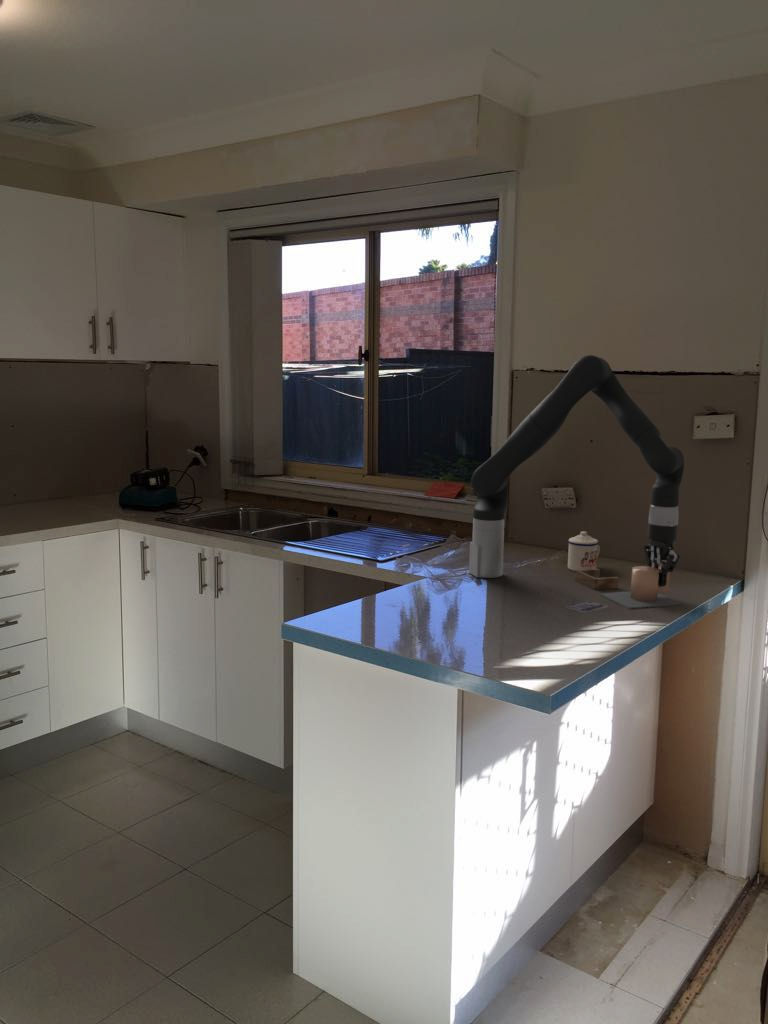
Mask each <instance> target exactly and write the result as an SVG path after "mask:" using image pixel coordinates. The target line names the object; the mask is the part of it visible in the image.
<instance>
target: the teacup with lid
mask: <svg viewBox="0 0 768 1024" xmlns="http://www.w3.org/2000/svg"><path fill="white" fill-rule="evenodd" d="M567 543H568V553H567V554H568V555H567V568H568V569H569V570H571V571H573V572H575V570H585V569H597V560H598V557H599V554H600V551H601V548H600V545H599V540H598V539H596V538H593V537H592V536H590V535H588V532H587V531H580V534H578V535H576V536H573V537H570V538H569V539H568V541H567Z"/></svg>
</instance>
